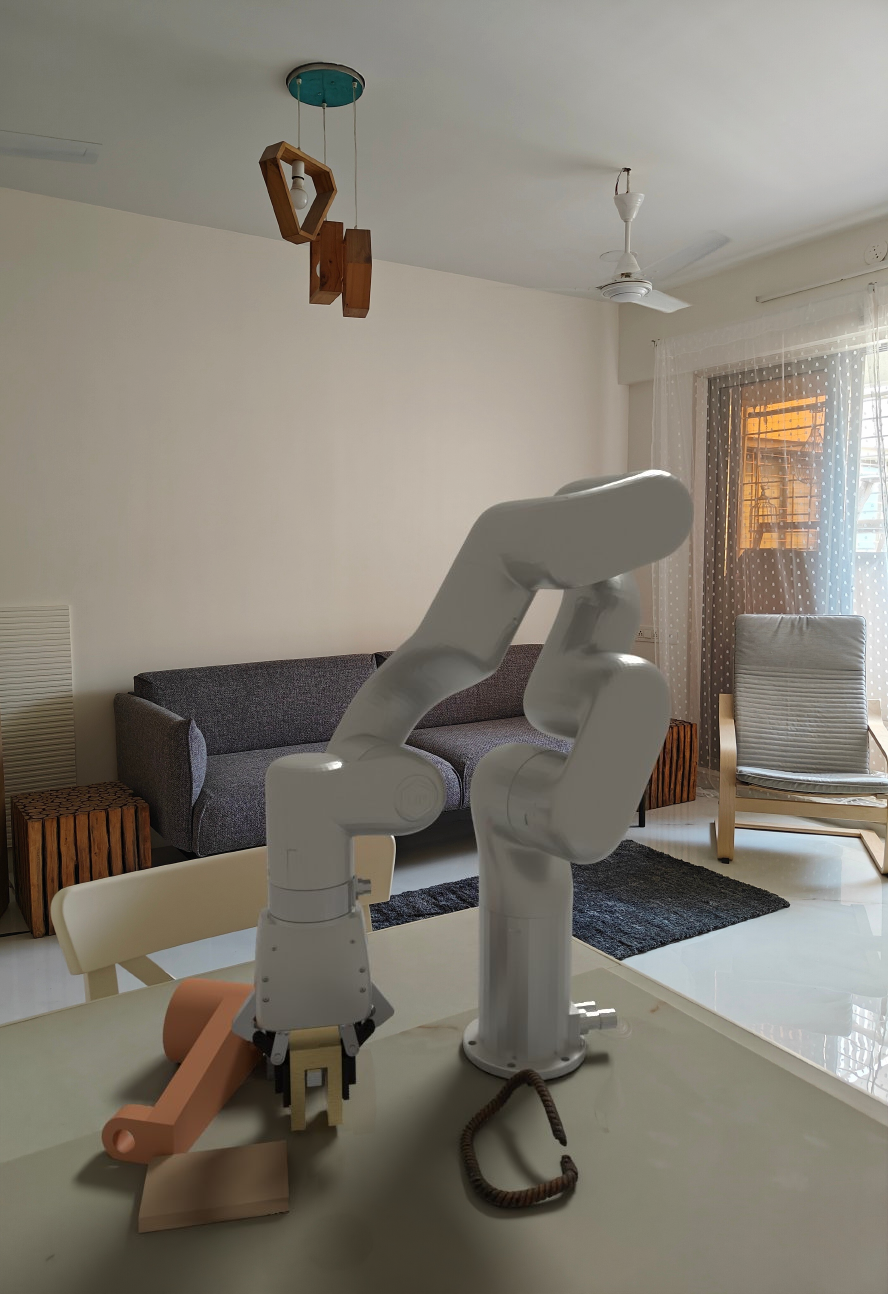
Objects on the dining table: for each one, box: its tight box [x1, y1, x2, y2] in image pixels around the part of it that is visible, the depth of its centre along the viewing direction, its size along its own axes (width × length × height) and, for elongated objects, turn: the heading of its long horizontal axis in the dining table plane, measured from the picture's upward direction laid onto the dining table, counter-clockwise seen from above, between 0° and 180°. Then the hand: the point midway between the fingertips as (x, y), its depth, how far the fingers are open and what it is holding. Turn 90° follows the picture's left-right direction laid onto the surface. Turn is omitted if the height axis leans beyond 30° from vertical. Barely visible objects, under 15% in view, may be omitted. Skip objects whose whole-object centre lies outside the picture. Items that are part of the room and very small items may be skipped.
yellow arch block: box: [289, 1026, 344, 1132], centre depth 79 cm, size 4×4×7 cm
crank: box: [101, 977, 265, 1165], centre depth 84 cm, size 20×8×8 cm, turn 167°
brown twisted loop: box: [459, 1069, 579, 1209], centre depth 75 cm, size 13×5×10 cm
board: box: [137, 1140, 290, 1234], centre depth 71 cm, size 11×7×1 cm, turn 102°
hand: (315, 1093), depth 80 cm, fingers closed on yellow arch block, 4 cm apart
